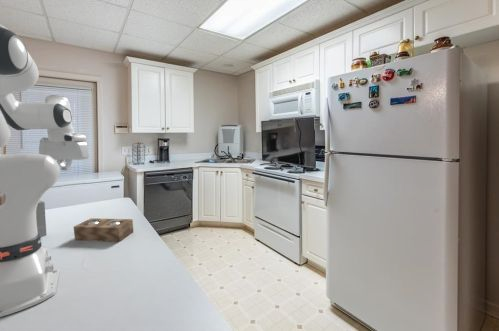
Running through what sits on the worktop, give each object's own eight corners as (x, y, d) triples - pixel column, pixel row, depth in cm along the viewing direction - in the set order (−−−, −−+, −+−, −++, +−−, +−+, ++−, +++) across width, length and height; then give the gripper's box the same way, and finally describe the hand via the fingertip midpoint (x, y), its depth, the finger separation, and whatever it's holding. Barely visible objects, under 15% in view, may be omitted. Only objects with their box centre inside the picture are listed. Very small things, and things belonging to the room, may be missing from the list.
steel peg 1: (102, 233, 112) (100, 221, 111) (95, 236, 108) (94, 224, 107) (93, 232, 112) (92, 220, 112) (86, 236, 108) (85, 224, 108)
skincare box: (20, 237, 110) (15, 202, 108) (40, 231, 116) (35, 198, 114) (29, 241, 106) (24, 204, 104) (49, 234, 112) (44, 200, 110)
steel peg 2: (123, 233, 111) (121, 221, 110) (117, 237, 107) (116, 225, 106) (114, 233, 111) (113, 221, 110) (108, 237, 107) (107, 224, 106)
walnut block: (133, 232, 113) (132, 219, 113) (119, 241, 104) (118, 227, 103) (92, 230, 116) (91, 218, 115) (75, 240, 106) (73, 226, 105)
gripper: (32, 137, 102) (36, 171, 104) (77, 136, 99) (81, 171, 101) (46, 137, 108) (50, 169, 110) (89, 136, 105) (93, 169, 107)
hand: (65, 170), depth 105 cm, fingers closed
